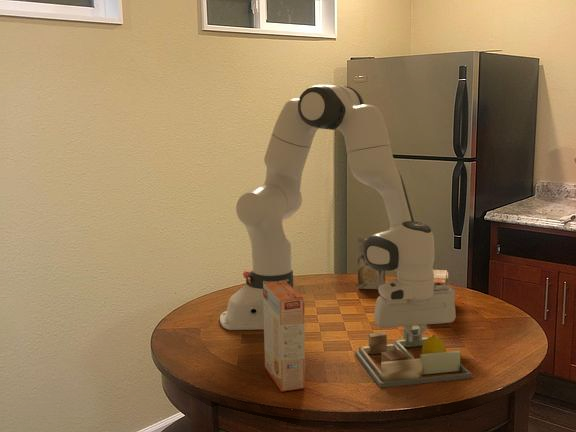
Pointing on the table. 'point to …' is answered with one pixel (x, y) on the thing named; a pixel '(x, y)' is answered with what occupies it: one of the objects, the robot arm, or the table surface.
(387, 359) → the walnut cube
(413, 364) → the frame
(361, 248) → the coffee box
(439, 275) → the stack of blocks
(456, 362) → the frame
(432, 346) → the fruit
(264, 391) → the table surface
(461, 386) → the table surface
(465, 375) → the lane guides
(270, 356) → the cracker box
